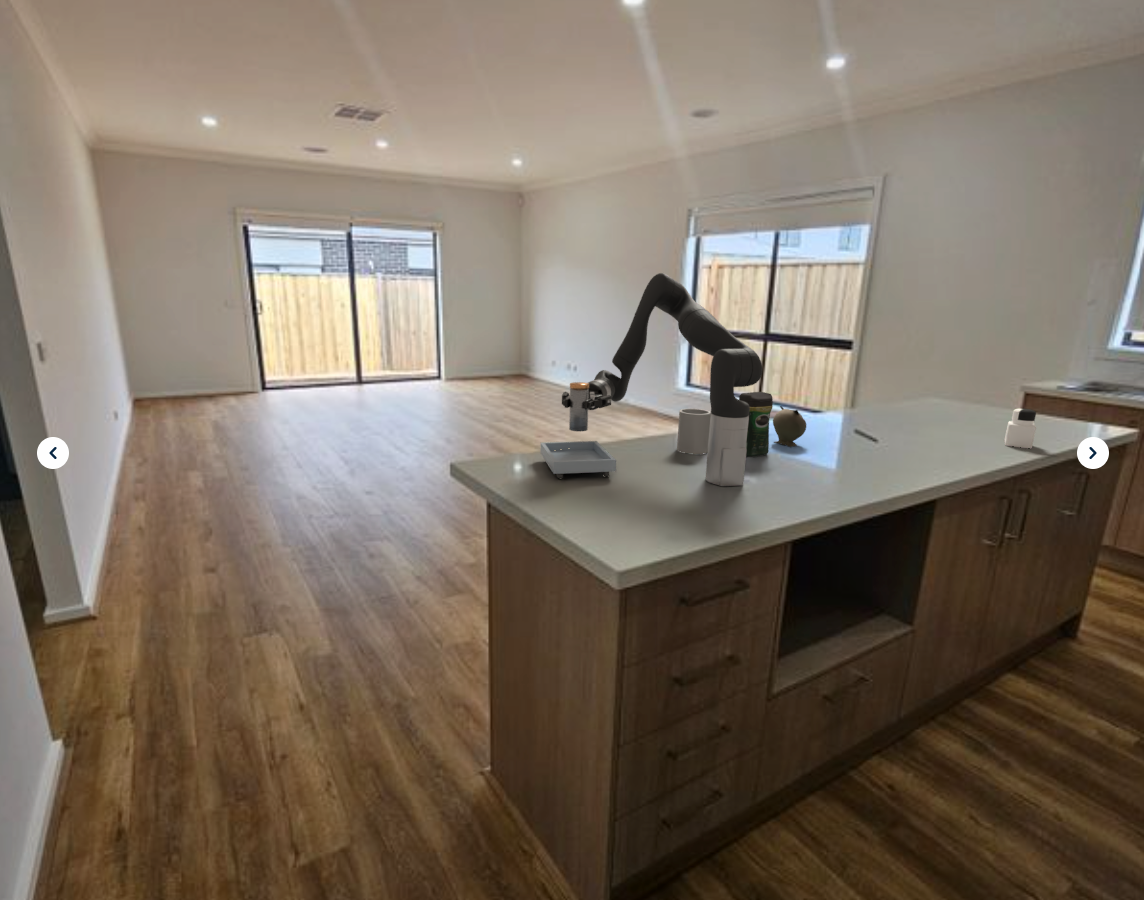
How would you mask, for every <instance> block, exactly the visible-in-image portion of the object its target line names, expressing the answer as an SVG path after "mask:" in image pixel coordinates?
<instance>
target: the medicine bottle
mask: <svg viewBox="0 0 1144 900" xmlns="http://www.w3.org/2000/svg"><path fill="white" fill-rule="evenodd" d="M1036 415H1037V412H1036V411H1035V410H1033V409H1029V408H1023V407H1022V408H1015V409H1014V410H1012V416H1011V420H1009V421H1008V422H1007V427H1006V431H1005V436H1004V445H1005V446H1006V447H1012V446H1014V447H1013V448H1020V447H1021V448H1020V449H1028V448H1030V449H1029V450H1031V449H1032V448H1033V444H1034V439H1035V435H1036V431H1037V426H1036V425H1035V420H1036Z"/></svg>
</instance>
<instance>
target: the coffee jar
mask: <svg viewBox="0 0 1144 900" xmlns="http://www.w3.org/2000/svg"><path fill="white" fill-rule="evenodd" d="M773 399H774V398H773V396H772V393H768V392H764V391H752V392H742V393H741V394H739V397H738V400H741V401H743V402H746V403H748V404H749V406H750V411H749V421H748V431H747V441H746V449H747V452H746V457H747V458H748V457H750V458H752V457H753V458H755V457H762V456H766V455H768V454H769V450H770V447H769V446H770V416H771V412H772V410H773V407H774V406H773V403H774V402H773Z"/></svg>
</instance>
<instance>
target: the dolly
mask: <svg viewBox="0 0 1144 900" xmlns="http://www.w3.org/2000/svg"><path fill="white" fill-rule="evenodd" d="M568 448H570V449H568ZM539 449H540V455H541V456H542V459H544V461H545V462H546V464H547V466H548V467H549V469H550V470H551V473H552V474H553V475H555V474H556V478H557V477H558V478H563V479H564V474H581V473H582V474H583V473H602V476H603V475H604V476H609V477H610V472H616V471H617V459H616V458H615V457H614V456H613V455H612V454H611V453H610V452H609V451H607V449H606V448H605V447H603V446H602V444H600V442H598V441H597V440H585V441H583V440H582V441H581V440H580V441H553V442H552V441H550V442H549V441H548V442H547V441H546V442H540V448H539ZM560 449H562V450H560ZM554 450H556V451H554Z"/></svg>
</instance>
